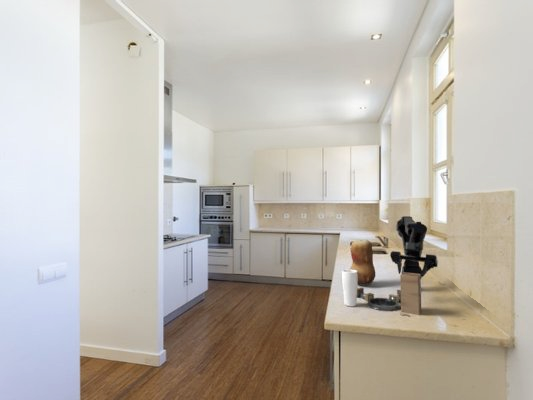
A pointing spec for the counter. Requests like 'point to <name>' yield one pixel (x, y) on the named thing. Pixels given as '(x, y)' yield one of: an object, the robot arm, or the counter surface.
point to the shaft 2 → (396, 296)
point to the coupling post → (410, 293)
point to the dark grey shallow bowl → (383, 304)
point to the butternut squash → (363, 261)
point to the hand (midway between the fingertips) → (410, 274)
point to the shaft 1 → (365, 296)
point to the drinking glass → (350, 287)
